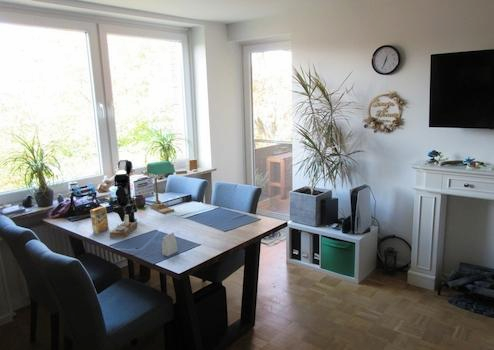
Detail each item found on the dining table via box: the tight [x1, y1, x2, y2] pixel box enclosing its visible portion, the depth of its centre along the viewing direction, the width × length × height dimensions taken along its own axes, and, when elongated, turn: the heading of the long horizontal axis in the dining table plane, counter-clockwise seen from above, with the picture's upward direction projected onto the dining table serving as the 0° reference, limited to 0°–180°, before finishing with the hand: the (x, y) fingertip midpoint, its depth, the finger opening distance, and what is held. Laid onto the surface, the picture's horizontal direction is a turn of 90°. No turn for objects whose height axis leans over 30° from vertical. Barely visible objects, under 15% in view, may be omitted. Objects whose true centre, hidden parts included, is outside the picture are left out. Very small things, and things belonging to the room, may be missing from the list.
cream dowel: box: [123, 215, 129, 226], centre depth 236 cm, size 3×3×9 cm
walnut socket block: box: [109, 222, 138, 239], centre depth 232 cm, size 18×9×4 cm, turn 174°
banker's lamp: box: [146, 160, 176, 215], centre depth 276 cm, size 16×21×35 cm
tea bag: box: [161, 232, 178, 257], centre depth 199 cm, size 4×7×10 cm, turn 146°
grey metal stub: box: [116, 223, 123, 231], centre depth 227 cm, size 3×3×6 cm
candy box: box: [89, 205, 110, 234], centre depth 236 cm, size 9×4×15 cm, turn 150°
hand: (125, 219), depth 235 cm, fingers open, 9 cm apart
